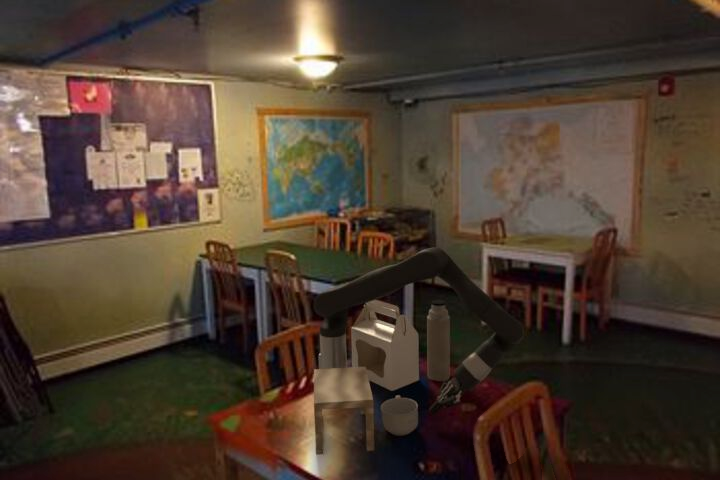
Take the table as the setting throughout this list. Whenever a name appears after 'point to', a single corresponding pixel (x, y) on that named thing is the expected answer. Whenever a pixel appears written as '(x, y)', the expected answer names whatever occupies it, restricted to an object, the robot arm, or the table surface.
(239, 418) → the table surface
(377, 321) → the gable box
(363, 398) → the miniature side table
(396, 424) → the teacup
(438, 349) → the thermos bottle
